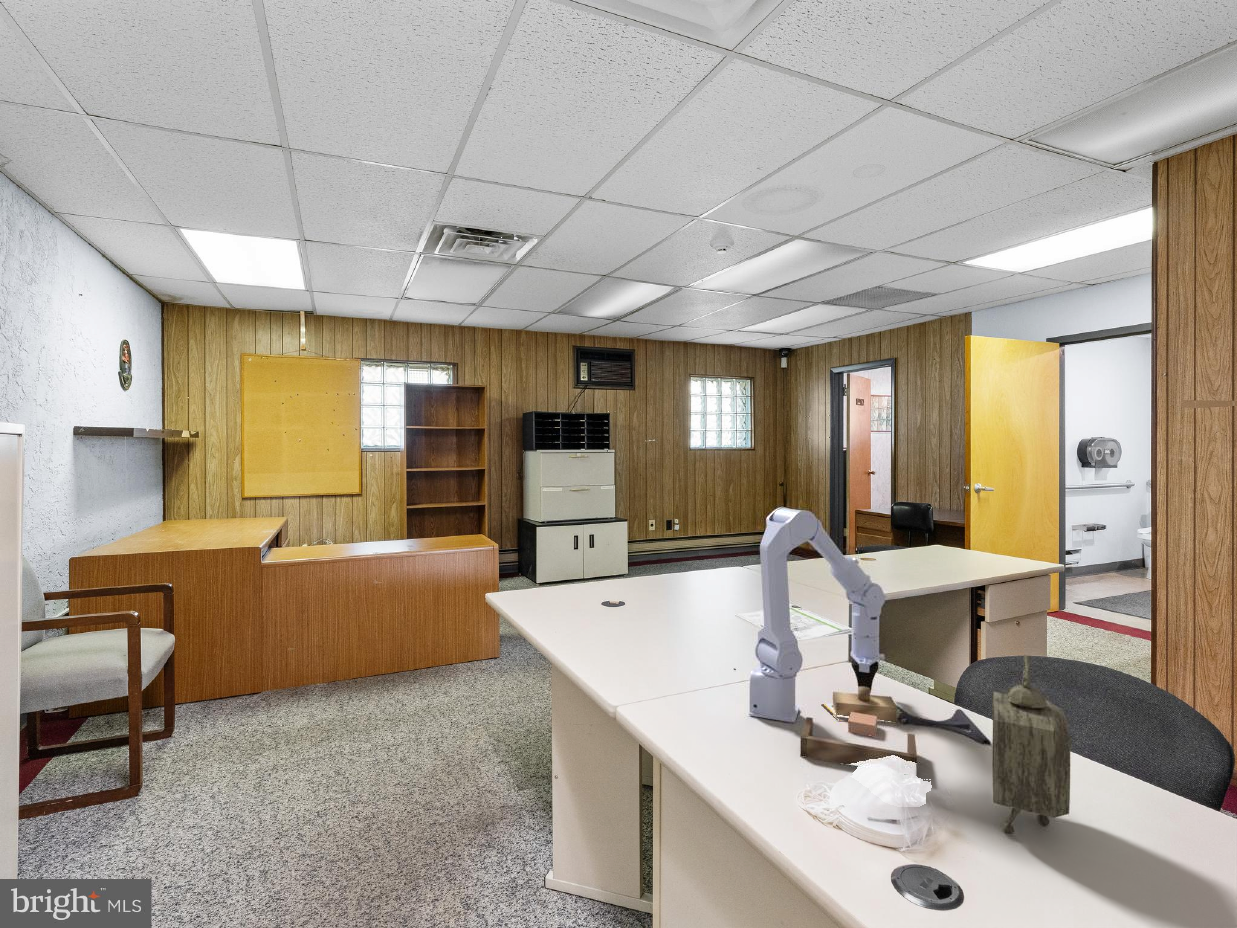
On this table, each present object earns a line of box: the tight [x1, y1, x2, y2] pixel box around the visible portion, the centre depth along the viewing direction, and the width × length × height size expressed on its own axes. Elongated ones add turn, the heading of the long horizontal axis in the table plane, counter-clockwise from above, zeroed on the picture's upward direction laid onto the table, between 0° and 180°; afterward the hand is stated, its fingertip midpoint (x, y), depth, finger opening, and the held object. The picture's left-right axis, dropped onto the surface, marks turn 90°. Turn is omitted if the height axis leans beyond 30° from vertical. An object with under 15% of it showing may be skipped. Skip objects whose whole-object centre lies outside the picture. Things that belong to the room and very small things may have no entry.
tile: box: [847, 712, 878, 737], centre depth 126 cm, size 5×5×2 cm
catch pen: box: [799, 716, 918, 765], centre depth 115 cm, size 19×10×4 cm, turn 67°
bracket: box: [897, 708, 991, 746], centre depth 127 cm, size 14×15×3 cm
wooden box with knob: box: [832, 686, 898, 724], centre depth 133 cm, size 12×6×6 cm, turn 77°
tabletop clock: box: [991, 654, 1071, 836], centre depth 94 cm, size 14×9×25 cm, turn 150°
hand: (864, 693), depth 140 cm, fingers closed
